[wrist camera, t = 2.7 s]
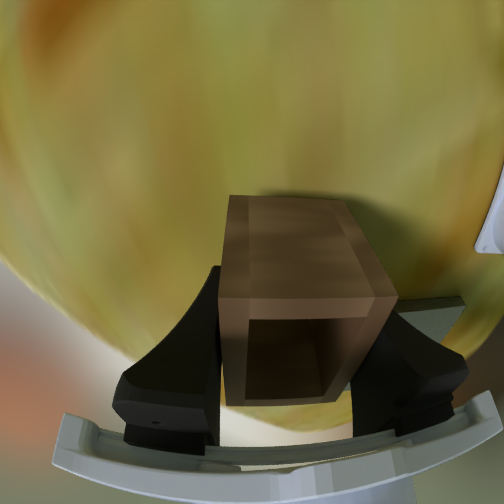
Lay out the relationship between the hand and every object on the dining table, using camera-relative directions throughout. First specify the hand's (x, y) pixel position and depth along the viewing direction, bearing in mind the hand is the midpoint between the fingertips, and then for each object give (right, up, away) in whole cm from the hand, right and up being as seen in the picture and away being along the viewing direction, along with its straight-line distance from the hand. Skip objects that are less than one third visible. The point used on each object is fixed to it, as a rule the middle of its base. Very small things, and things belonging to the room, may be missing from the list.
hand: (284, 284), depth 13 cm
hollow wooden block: (0, +1, +1) cm, 2 cm away
